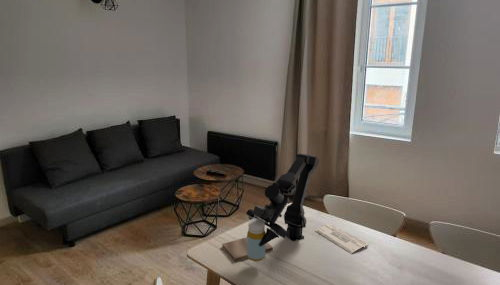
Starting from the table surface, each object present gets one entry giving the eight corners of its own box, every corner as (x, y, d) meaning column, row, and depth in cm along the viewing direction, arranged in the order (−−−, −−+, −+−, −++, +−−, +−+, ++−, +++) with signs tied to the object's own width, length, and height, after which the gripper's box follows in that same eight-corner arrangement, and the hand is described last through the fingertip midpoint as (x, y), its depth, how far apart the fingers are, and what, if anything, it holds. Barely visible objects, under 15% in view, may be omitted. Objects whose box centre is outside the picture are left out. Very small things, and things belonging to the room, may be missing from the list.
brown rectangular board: (258, 237, 156) (258, 234, 156) (272, 250, 146) (272, 247, 146) (222, 246, 148) (222, 243, 147) (234, 261, 138) (234, 258, 137)
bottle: (263, 263, 131) (264, 228, 126) (245, 260, 132) (245, 225, 128) (266, 252, 137) (267, 218, 133) (249, 250, 139) (249, 216, 134)
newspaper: (370, 247, 152) (370, 242, 151) (351, 258, 146) (351, 253, 145) (332, 224, 170) (332, 220, 169) (313, 233, 164) (313, 229, 163)
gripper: (249, 190, 137) (227, 223, 134) (282, 206, 124) (258, 244, 120) (264, 203, 144) (242, 234, 141) (296, 220, 131) (274, 256, 127)
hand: (253, 241), depth 132 cm, fingers closed on bottle, 7 cm apart
